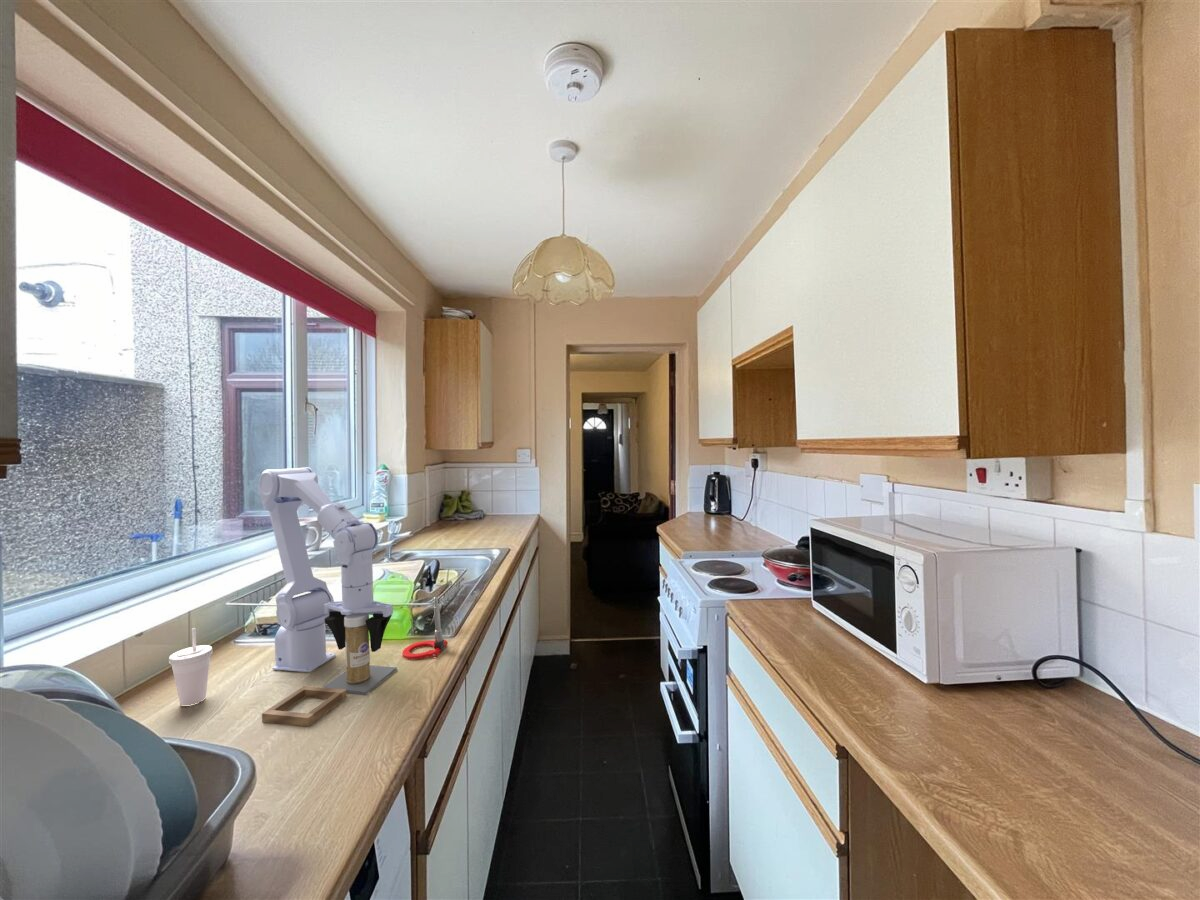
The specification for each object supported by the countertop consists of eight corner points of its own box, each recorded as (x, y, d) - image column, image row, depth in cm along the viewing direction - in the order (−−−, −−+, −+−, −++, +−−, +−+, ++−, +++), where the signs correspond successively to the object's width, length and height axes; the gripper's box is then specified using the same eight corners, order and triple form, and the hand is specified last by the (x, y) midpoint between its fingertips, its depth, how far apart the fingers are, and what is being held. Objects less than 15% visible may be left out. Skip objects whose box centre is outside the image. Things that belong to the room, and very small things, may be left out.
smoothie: (221, 696, 92) (218, 626, 92) (181, 714, 87) (178, 638, 86) (203, 690, 95) (200, 621, 95) (163, 706, 89) (160, 633, 89)
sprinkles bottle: (360, 685, 94) (358, 619, 94) (340, 683, 96) (338, 617, 95) (375, 674, 99) (373, 610, 99) (357, 672, 100) (355, 609, 100)
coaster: (321, 691, 94) (321, 688, 94) (355, 666, 104) (355, 664, 104) (366, 694, 92) (366, 691, 92) (396, 669, 102) (396, 667, 102)
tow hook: (395, 662, 107) (435, 660, 106) (391, 605, 107) (431, 603, 106) (412, 646, 115) (449, 644, 115) (408, 593, 115) (446, 591, 114)
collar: (262, 721, 84) (261, 713, 84) (304, 693, 93) (303, 685, 93) (308, 726, 82) (308, 718, 82) (346, 697, 91) (346, 689, 91)
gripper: (311, 588, 95) (313, 655, 95) (376, 590, 92) (378, 659, 93) (337, 577, 102) (339, 640, 102) (398, 580, 99) (400, 644, 100)
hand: (359, 648), depth 98 cm, fingers open, 7 cm apart
